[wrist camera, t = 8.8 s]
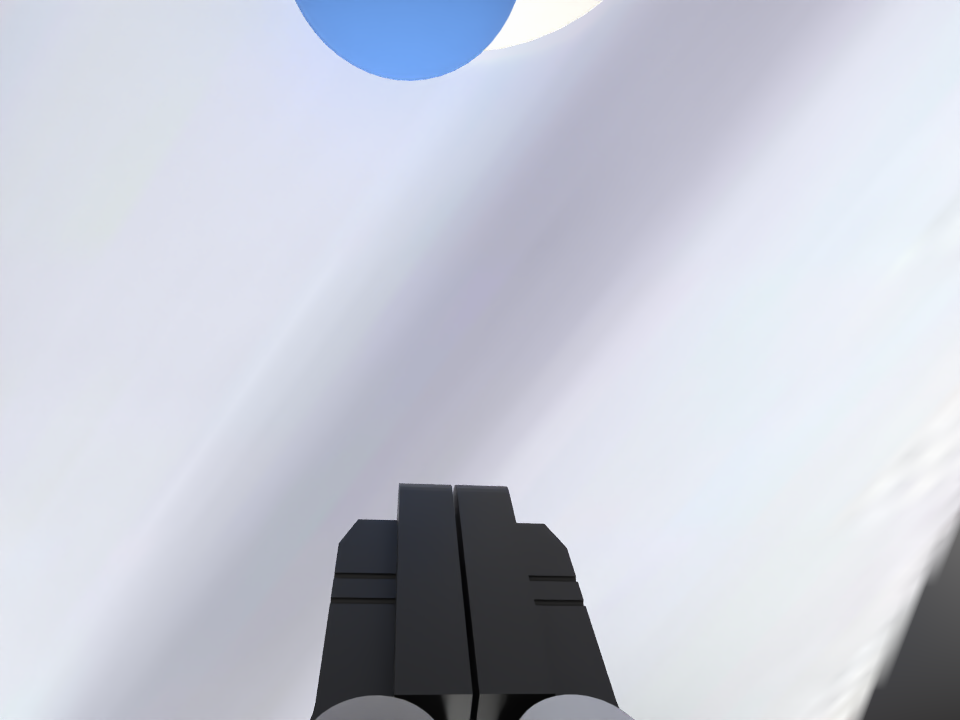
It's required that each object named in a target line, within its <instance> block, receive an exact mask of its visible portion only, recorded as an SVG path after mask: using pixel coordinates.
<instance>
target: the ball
mask: <svg viewBox="0 0 960 720" xmlns="http://www.w3.org/2000/svg"><path fill="white" fill-rule="evenodd" d="M295 1H296V3H297V5H298V7H299V9H300V10H301V12H302V14H303V16H304V17H305V19H306V20H307V22H308V23H309V25H310V26H311V28H312V29H313V30H314V32H315V33H316V34H317V35H318V36H319V37H320V39H321V40H322V41H323V42H324V43H325V44H326V45H327V46H328V47H329V48H330V49H332V50H333V51H334V52H335V53H336V54H337V55H339V56H340V57H342V58H343V59H345V60H346V61H348V62H349V63H351V64H352V65H354V66H356V67H358V68H360V69H362V70H364V71H366V72H368V73H371V74H374V75H377V76H380V77H384V78H389V79H395V80H409V81H413V80H424V79H430V78H434V77H438V76H442V75H444V74H447V73H449V72H452V71H455V70H456V69H458V68H460V67H462V66H464V65H465V64H467V63H469V62H470V61H471V60H473V59H474V58H475V57H477V56H478V55H479V54H480V53H481V52H482V51H484V50H485V49H486V48H487V47H488V46H489V45H490V44H491V42H492V41H493V40H494V39H495V37H496V36H497V35H498V34H499V32H500V31H501V29H502V28H503V26H504V24H505V23H506V21H507V19H508V18H509V16H510V13H511V11H512V9H513V7H514V4H515V2H516V0H295Z"/></svg>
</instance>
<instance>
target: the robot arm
mask: <svg viewBox="0 0 960 720" xmlns="http://www.w3.org/2000/svg"><path fill="white" fill-rule="evenodd" d="M310 720H634V719H633V718H632V717H630V716H629V715H628V714H626V713H625V712H624V711H622V710H621V709H619V707H618V704H617V702H616V699H615V696H614V693H613V690H612V687H611V683H610V680H609V677H608V674H607V671H606V668H605V665H604V662H603V659H602V656H601V653H600V649H599V646H598V643H597V640H596V637H595V634H594V631H593V628H592V625H591V622H590V618H589V615H588V612H587V609H586V606H584V605H583V597H582V594H581V591H580V588H579V584H578V582H576V575H575V572H574V569H573V566H572V563H571V560H570V557H569V553H568V550H567V548H566V547H565V546H564V545H563V543H562V542H561V541H560V540H559V539H558V538H557V537H556V536H555V535H554V534H553V533H552V532H551V531H550V530H549V528H548V527H547V526H546V525H545V524H531V523H516V520H515V516H514V511H513V507H512V503H511V498H510V494H509V490H508V488H507V487H505V486H473V485H455V486H454V491H453V492H452V486H451V485H435V484H403V483H399V493H398V509H397V520H362V519H358V520H357V522H356V523H355V524H354V525H353V527H352V528H351V529H350V530H349V532H348V533H347V534H346V535H345V537H344V538H343V539H342V540H341V541H340V543H339V546H338V553H337V560H336V567H335V575H334V580H333V587H332V594H331V604H330V608H329V614H328V621H327V628H326V635H325V642H324V648H323V655H322V662H321V669H320V676H319V682H318V689H317V696H316V703H315V707H314V711H313V715H312V717H311V719H310Z"/></svg>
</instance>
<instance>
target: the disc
mask: <svg viewBox="0 0 960 720" xmlns="http://www.w3.org/2000/svg"><path fill="white" fill-rule="evenodd" d="M602 1H603V0H516V2H515V4H514V7H513V9H512V11H511V13H510V16H509V18H508V19H507V21H506V23H505V24H504V26H503V28H502V29H501V31H500V32H499V34H498V35H497V36H496V37H495V39H494V40H493V41H492V42H491V44H490V45H489V46H488V47H487V48H486V49H485V50H484V51H486V50H495V49H502V48H506V47H510V46H514V45H518V44H522V43H526V42H530V41H532V40H535V39H537V38H540V37H542V36H545V35H547V34H549V33H552V32H554V31H557V30H559V29H561V28H563V27H564V26H566V25H568V24H569V23H571V22H573V21H575V20H576V19H578V18H580V17H581V16H583V15H585V14H586V13H588V12H589V11H590V10H592V9H593V8H594V7H596V6H597V5H598V4H599V3H601V2H602Z"/></svg>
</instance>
